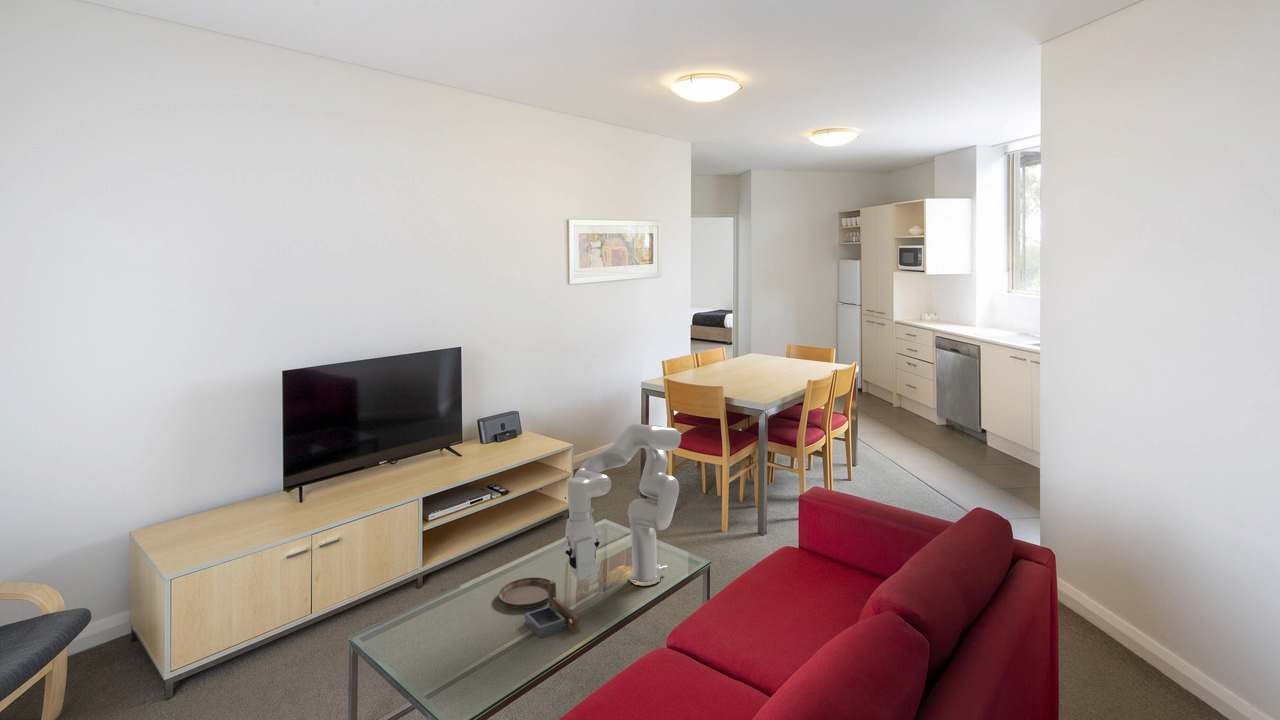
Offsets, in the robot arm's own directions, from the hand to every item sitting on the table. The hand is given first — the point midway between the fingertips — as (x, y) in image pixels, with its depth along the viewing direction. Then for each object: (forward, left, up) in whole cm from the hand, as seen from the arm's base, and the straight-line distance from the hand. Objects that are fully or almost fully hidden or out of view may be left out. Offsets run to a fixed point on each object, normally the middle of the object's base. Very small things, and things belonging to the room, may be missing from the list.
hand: (582, 563), depth 219 cm
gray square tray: (+15, 0, -18) cm, 23 cm away
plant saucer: (+12, -22, -18) cm, 31 cm away
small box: (0, 0, -4) cm, 4 cm away
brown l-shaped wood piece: (+8, 0, -18) cm, 20 cm away
